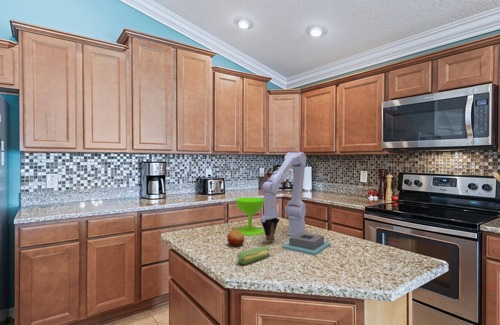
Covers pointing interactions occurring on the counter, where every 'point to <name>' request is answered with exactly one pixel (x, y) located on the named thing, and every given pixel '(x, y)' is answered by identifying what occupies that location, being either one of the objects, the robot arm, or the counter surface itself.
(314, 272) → the counter surface
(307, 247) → the socket board
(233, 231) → the fruit
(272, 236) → the peg
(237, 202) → the wineglass
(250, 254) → the edible corn
